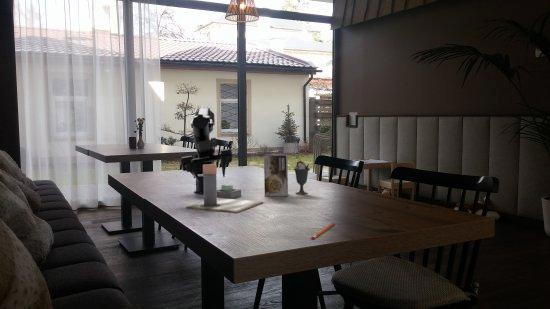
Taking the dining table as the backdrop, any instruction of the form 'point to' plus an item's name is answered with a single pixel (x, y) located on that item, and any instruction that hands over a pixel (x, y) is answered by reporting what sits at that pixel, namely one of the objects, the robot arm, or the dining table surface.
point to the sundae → (301, 175)
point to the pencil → (323, 231)
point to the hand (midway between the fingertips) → (211, 179)
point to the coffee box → (275, 175)
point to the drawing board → (227, 205)
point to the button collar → (228, 194)
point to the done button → (227, 187)
